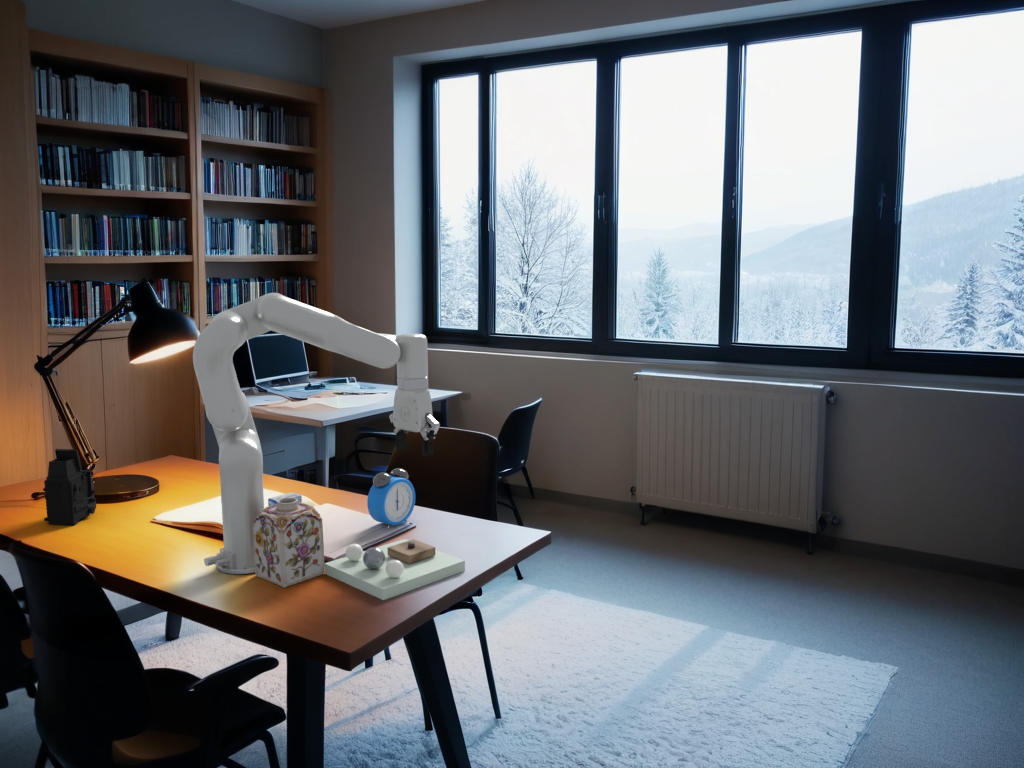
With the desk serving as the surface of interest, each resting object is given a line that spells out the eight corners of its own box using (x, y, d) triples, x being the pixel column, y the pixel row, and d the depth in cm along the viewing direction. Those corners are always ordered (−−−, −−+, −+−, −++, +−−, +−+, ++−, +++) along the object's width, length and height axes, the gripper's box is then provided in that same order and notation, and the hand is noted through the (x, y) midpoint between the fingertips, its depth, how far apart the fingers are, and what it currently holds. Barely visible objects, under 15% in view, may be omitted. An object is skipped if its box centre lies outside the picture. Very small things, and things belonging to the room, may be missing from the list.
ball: (372, 574, 193) (371, 553, 192) (358, 568, 196) (358, 547, 195) (389, 568, 196) (389, 547, 196) (376, 563, 200) (375, 542, 199)
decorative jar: (295, 562, 207) (293, 490, 204) (326, 574, 200) (324, 499, 197) (252, 576, 198) (249, 501, 195) (282, 589, 191) (279, 511, 188)
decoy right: (393, 582, 188) (393, 564, 188) (382, 577, 191) (381, 560, 190) (407, 577, 191) (407, 560, 191) (396, 572, 194) (396, 555, 193)
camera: (105, 511, 246) (100, 443, 243) (76, 526, 233) (71, 454, 230) (72, 510, 247) (66, 442, 244) (42, 525, 234) (35, 453, 231)
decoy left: (352, 564, 199) (352, 548, 198) (342, 560, 201) (342, 544, 201) (366, 560, 201) (366, 544, 201) (356, 556, 204) (356, 540, 204)
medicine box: (293, 522, 237) (291, 491, 236) (303, 525, 235) (302, 494, 233) (268, 529, 231) (267, 498, 230) (278, 532, 229) (277, 501, 227)
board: (383, 600, 185) (383, 589, 184) (324, 573, 200) (324, 563, 199) (464, 570, 202) (464, 560, 202) (405, 548, 217) (405, 538, 217)
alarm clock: (382, 531, 229) (381, 477, 227) (366, 527, 233) (365, 473, 231) (416, 519, 240) (415, 467, 237) (400, 515, 243) (399, 464, 241)
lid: (409, 563, 198) (409, 551, 198) (387, 555, 204) (387, 543, 203) (435, 555, 204) (435, 543, 204) (413, 547, 210) (413, 535, 209)
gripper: (378, 382, 214) (380, 449, 217) (425, 389, 203) (427, 460, 205) (401, 379, 219) (402, 444, 222) (448, 385, 208) (449, 454, 211)
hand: (414, 452), depth 214 cm, fingers open, 9 cm apart
